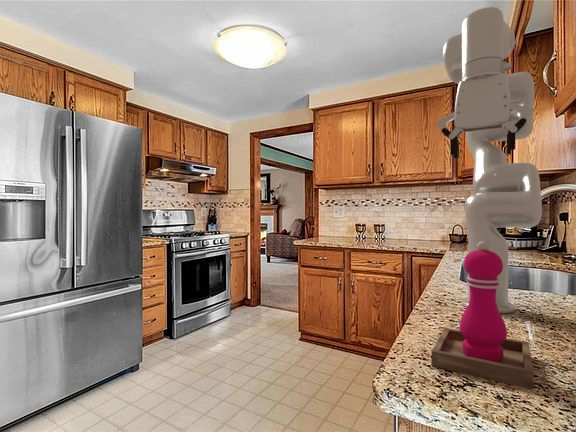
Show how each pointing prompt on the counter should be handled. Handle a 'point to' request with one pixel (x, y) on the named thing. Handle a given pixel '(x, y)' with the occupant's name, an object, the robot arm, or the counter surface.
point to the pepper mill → (483, 306)
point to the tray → (508, 370)
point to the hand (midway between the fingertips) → (481, 156)
